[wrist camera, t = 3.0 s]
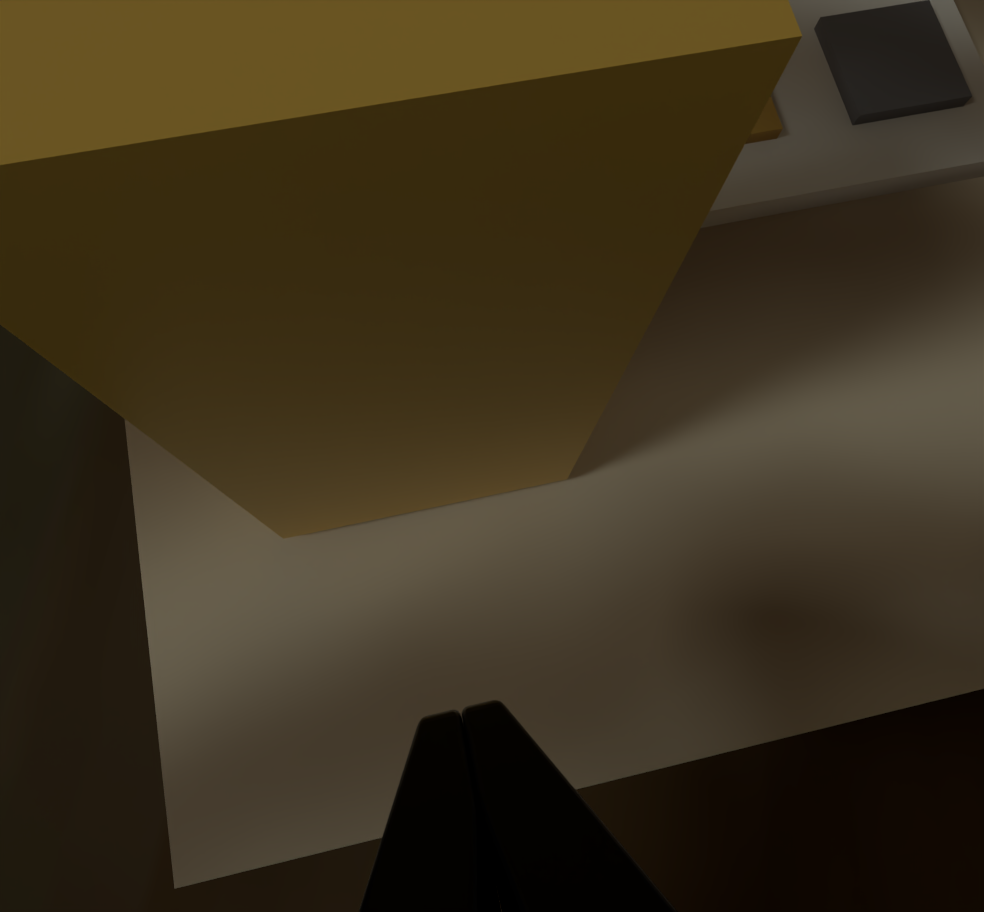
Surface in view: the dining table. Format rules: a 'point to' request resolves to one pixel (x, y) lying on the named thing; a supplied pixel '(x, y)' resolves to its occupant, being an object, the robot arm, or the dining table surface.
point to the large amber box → (363, 224)
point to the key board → (641, 500)
